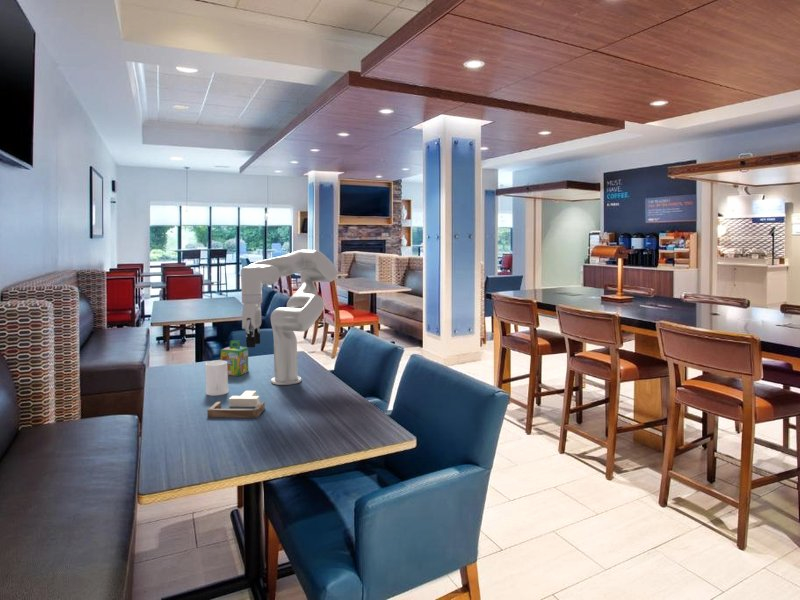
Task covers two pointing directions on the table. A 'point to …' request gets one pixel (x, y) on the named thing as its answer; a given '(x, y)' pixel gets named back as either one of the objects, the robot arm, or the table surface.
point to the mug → (216, 378)
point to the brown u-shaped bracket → (235, 411)
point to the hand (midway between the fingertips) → (253, 344)
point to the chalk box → (235, 359)
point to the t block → (244, 400)
